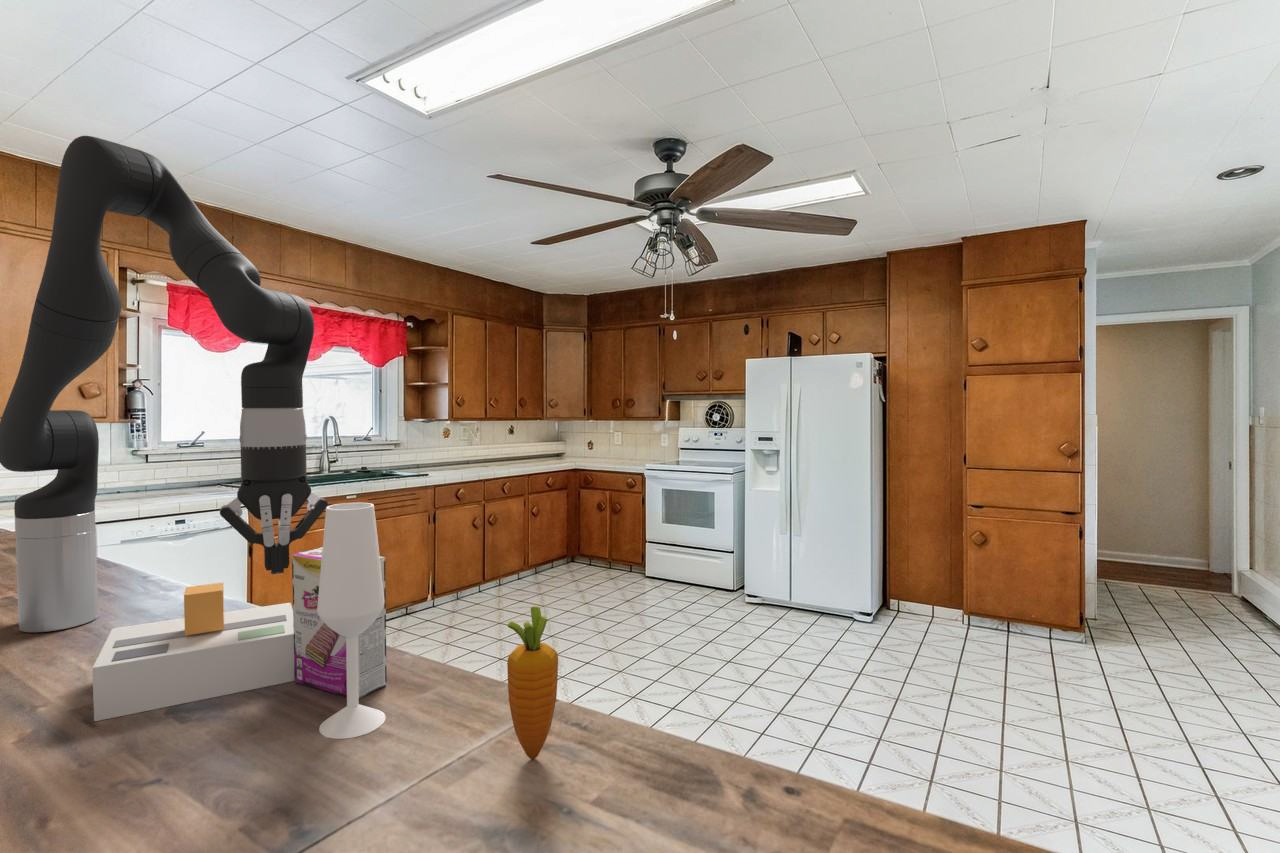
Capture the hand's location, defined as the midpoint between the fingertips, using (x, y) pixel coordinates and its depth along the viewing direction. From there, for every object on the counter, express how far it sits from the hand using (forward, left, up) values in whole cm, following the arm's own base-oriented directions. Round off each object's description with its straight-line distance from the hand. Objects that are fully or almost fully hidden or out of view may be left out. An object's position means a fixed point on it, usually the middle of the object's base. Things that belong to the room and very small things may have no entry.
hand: (276, 572), depth 85 cm
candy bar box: (+11, +6, -13) cm, 18 cm away
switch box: (0, -8, -12) cm, 15 cm away
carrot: (+39, +20, -13) cm, 45 cm away
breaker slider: (0, -8, -6) cm, 10 cm away
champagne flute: (+22, +6, -13) cm, 26 cm away
